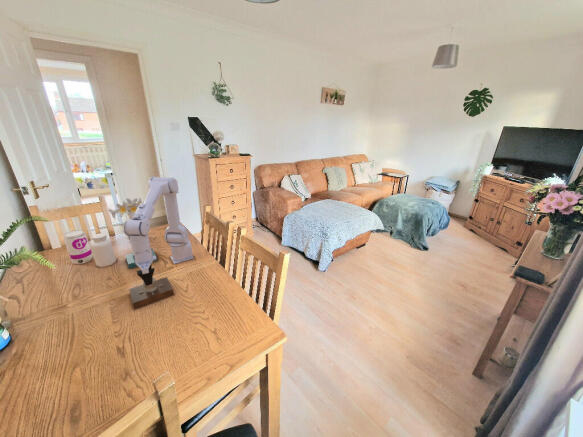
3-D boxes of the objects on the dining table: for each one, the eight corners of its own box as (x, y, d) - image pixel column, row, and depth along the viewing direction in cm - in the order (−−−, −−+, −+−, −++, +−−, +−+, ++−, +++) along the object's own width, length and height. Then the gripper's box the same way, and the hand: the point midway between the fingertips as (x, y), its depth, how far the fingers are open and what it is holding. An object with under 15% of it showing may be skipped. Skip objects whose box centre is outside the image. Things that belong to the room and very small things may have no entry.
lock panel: (167, 282, 105) (166, 276, 104) (174, 294, 98) (172, 288, 97) (130, 295, 97) (128, 288, 96) (134, 309, 90) (132, 303, 89)
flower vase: (113, 243, 134) (101, 201, 124) (147, 232, 148) (138, 194, 139) (124, 251, 127) (113, 207, 118) (158, 238, 142) (150, 198, 132)
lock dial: (144, 287, 97) (142, 278, 95) (156, 284, 99) (155, 275, 98) (144, 293, 94) (142, 285, 92) (157, 290, 96) (155, 281, 94)
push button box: (153, 252, 127) (151, 245, 126) (157, 261, 120) (155, 253, 118) (126, 259, 120) (124, 251, 119) (129, 269, 113) (127, 260, 111)
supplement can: (96, 259, 119) (88, 232, 114) (76, 266, 113) (65, 238, 107) (89, 254, 123) (80, 228, 118) (69, 261, 117) (59, 234, 111)
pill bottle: (120, 259, 120) (113, 232, 115) (107, 268, 113) (99, 240, 107) (105, 257, 121) (97, 231, 115) (92, 266, 114) (82, 238, 108)
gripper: (155, 255, 86) (161, 286, 91) (153, 239, 97) (158, 267, 102) (132, 260, 82) (140, 292, 88) (132, 242, 94) (139, 271, 99)
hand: (148, 279), depth 95 cm, fingers open, 7 cm apart
